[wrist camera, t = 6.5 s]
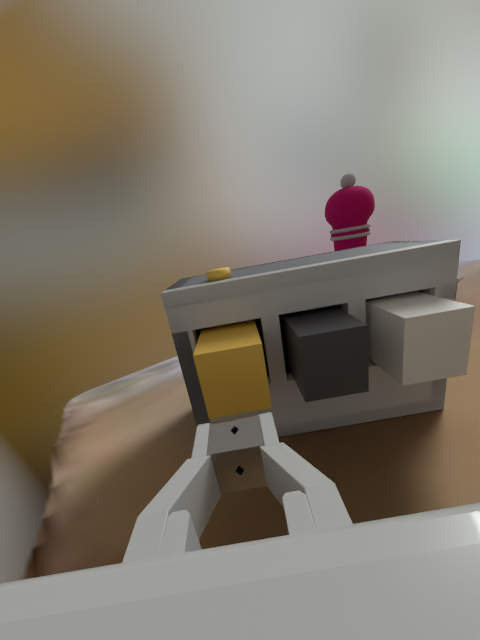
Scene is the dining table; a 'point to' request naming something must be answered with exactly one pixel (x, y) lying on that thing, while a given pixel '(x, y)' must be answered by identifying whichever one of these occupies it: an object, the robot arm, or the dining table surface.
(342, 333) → the black button
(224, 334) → the amber button
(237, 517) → the dining table surface
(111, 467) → the dining table surface
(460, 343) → the white button
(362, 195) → the pepper mill
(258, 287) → the console
